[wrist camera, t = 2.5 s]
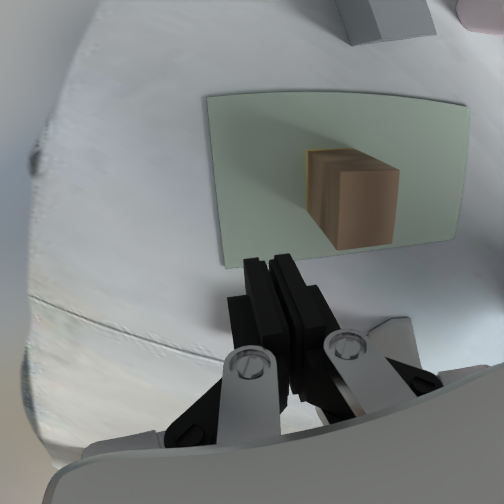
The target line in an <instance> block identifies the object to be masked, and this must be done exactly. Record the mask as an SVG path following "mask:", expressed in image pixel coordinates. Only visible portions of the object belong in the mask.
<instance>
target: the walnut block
mask: <svg viewBox="0 0 504 504" xmlns="http://www.w3.org/2000/svg"><path fill="white" fill-rule="evenodd" d="M399 175H400V170H399V169H397V168H395V167H393V166H391V165H388V164H386V163H384V162H382V161H380V160H378V159H376V158H374V157H372V156H370V155H367V154H365V153H363V152H361V151H359V150H356V149H354V148H343V149H312V150H306V211H307V212H308V213H309V215H310V216H311V217H312V218H313V220H314V221H315V222H316V224H317V225H318V226H319V228H320V229H321V230H322V231H323V233H324V234H325V235H326V237H327V238H328V239H329V241H330V242H331V243H332V245H333V246H334V247H335V249H336V250H337V251H340V250H348V249H356V248H364V247H372V246H379V245H387V244H392V240H393V233H394V225H395V217H396V208H397V198H398V187H399Z"/></svg>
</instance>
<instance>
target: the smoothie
mask: <svg viewBox="0 0 504 504" xmlns="http://www.w3.org/2000/svg"><path fill="white" fill-rule="evenodd" d="M456 12H457V15H458V18H459V20H460V22H461V23H462V25H463V26H464V27H465V28H466V29H467V30H468V31H470V32H474V33H483V34H490V35H497V36H503V37H504V0H459V1H458V2H457V5H456Z"/></svg>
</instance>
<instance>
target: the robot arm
mask: <svg viewBox="0 0 504 504" xmlns="http://www.w3.org/2000/svg"><path fill="white" fill-rule="evenodd" d="M243 266H244V277H245V288H246V295H242V296H234V297H227V301H228V308H229V315H230V322H231V329H232V336H233V343H234V350H233V351H232V352H231V353H229V355H228V356H227V357H226V358H225V361H224V365H223V376H222V378H221V379H220V380H219V381H218V382H217V383H216V384H215V385H214V386H213V387H211V388H210V389H209V390H208V391H207V392H206V393H205V394H204V395H203V396H202V397H201V398H200V399H198V400H197V401H196V402H195V403H194V404H193V405H192V406H191V407H190V408H189V409H187V410H186V411H185V412H184V413H183V414H182V415H181V416H180V417H179V418H177V419H176V420H175V421H174V422H173V423H172V424H171V425H170V426H169V427H168V428H167V430H166V431H162V432H158V433H156V431H155V430H152V431H148V432H144V433H139V434H135V435H130V436H125V437H120V438H115V439H109V440H104V441H98V442H95V443H92V444H90V445H89V446H88V447H87V448H85V450H84V452H83V454H82V458H81V460H79V461H76V462H73V463H71V464H69V465H67V466H65V467H63V468H61V469H60V470H59V471H58V472H57V473H55V474H54V476H53V477H52V478H51V480H50V482H49V484H48V486H47V488H46V491H45V494H44V497H43V501H42V504H504V362H503V363H500V364H497V365H494V366H488V365H477V366H472V367H466V368H461V369H455V370H448V371H442V372H438V374H437V375H436V376H435V375H434V374H433V373H430V372H428V371H426V370H423V369H420V368H417V367H414V366H411V365H408V364H405V363H402V362H399V361H396V360H393V359H390V358H387V357H384V356H383V355H382V353H381V352H380V351H379V350H378V349H377V347H376V346H375V345H374V344H373V343H372V341H371V340H370V339H369V338H368V337H367V336H366V335H365V334H363V333H361V332H359V331H357V330H353V329H341V328H340V326H339V324H338V323H337V321H336V319H335V317H334V315H333V313H332V311H331V309H330V308H329V306H328V304H327V302H326V300H325V298H324V297H323V295H322V293H321V291H320V289H319V288H318V286H317V285H311V286H306V284H305V282H304V280H303V278H302V276H301V274H300V272H299V270H298V268H297V266H296V264H295V262H294V260H293V258H292V256H291V254H290V253H286V254H278V255H274V259H271V260H269V270H268V268H267V265H266V262H265V260H263V261H260V260H259V257H255V258H247V259H243ZM289 384H290V387H291V391H292V393H293V395H294V394H298V395H299V398H300V401H301V402H305V401H307V402H308V403H310V404H312V405H314V406H315V409H316V412H317V414H318V416H319V418H320V420H321V422H322V424H323V425H324V426H322V427H317V428H313V429H309V430H304V431H299V432H294V433H289V434H284V435H281V427H280V414H281V413H282V412H283V410H284V409H285V408H286V407H287V396H288V395H289Z"/></svg>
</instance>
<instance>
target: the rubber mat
mask: <svg viewBox="0 0 504 504" xmlns="http://www.w3.org/2000/svg"><path fill="white" fill-rule="evenodd" d="M207 105H208V116H209V126H210V137H211V147H212V157H213V166H214V176H215V185H216V194H217V203H218V212H219V221H220V229H221V237H222V246H223V254H224V262H225V269H230V268H238V267H244V266H243V259H247V258H255V257H259V260H260V261H263V260H265V262H266V264H269V260H271V259H274V255H278V254H286V253H290V254H291V256H292V258H293V260H294V261H295V260H303V259H311V258H319V257H327V256H334V255H342V254H350V253H357V252H365V251H372V250H380V249H387V248H394V247H402V246H409V245H416V244H423V243H430V242H437V241H445V240H451V239H454V237H455V233H456V228H457V222H458V217H459V212H460V206H461V200H462V193H463V186H464V179H465V171H466V162H467V151H468V139H469V122H470V107H465V106H460V105H454V104H449V103H443V102H436V101H430V100H423V99H415V98H407V97H398V96H388V95H376V94H362V93H342V92H274V93H254V94H239V95H227V96H216V97H207ZM343 148H354V149H356V150H359V151H361V152H363V153H365V154H367V155H370V156H372V157H374V158H376V159H378V160H380V161H382V162H384V163H386V164H388V165H391V166H393V167H395V168H397V169H399V170H400V175H399V187H398V198H397V208H396V217H395V225H394V233H393V240H392V244H387V245H379V246H372V247H364V248H356V249H348V250H340V251H337V250H336V249H335V247H334V246H333V245H332V243H331V242H330V241H329V239H328V238H327V237H326V235H325V234H324V233H323V231H322V230H321V229H320V228H319V226H318V225H317V224H316V222H315V221H314V220H313V218H312V217H311V216H310V215H309V213H308V212H307V211H306V150H312V149H343Z"/></svg>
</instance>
